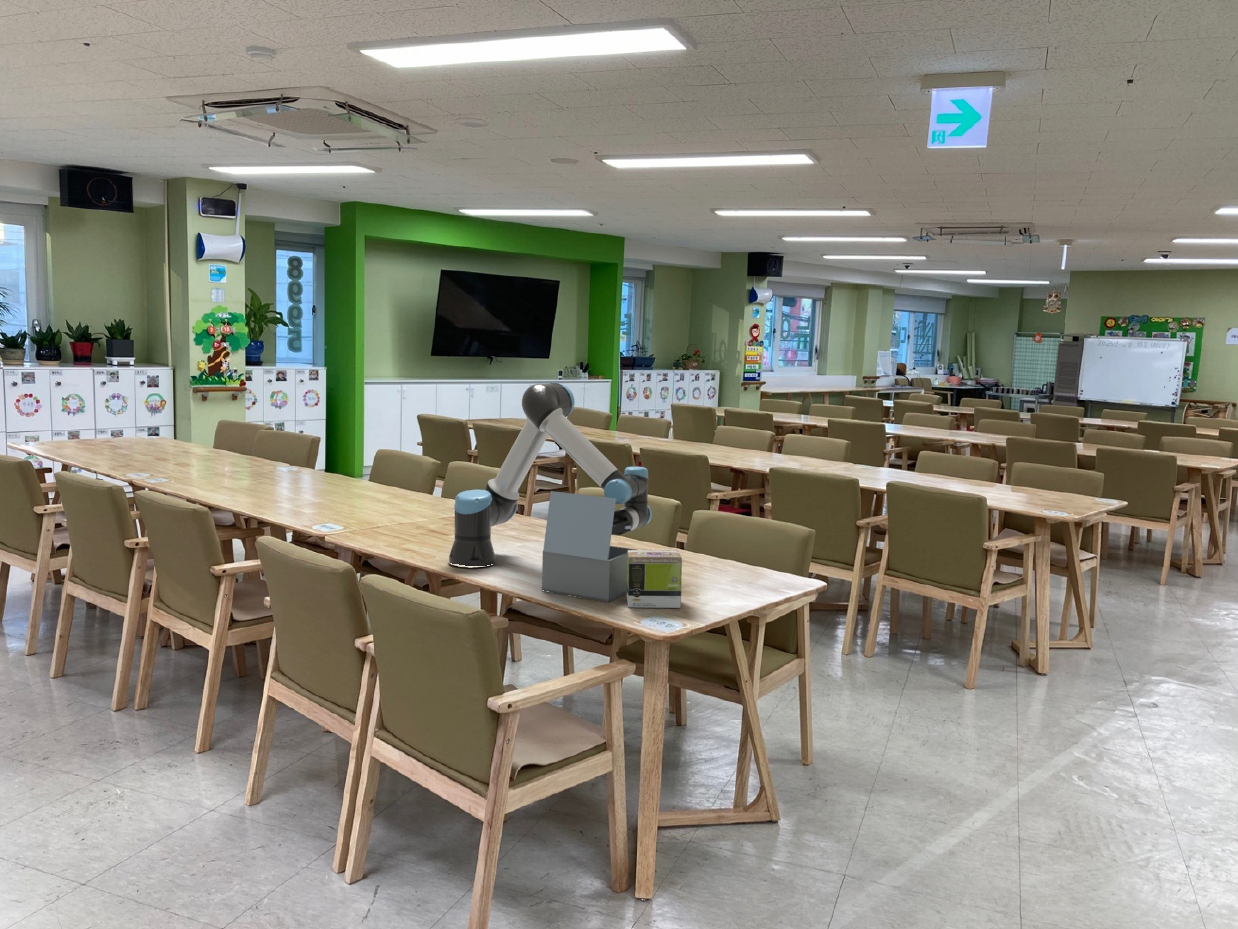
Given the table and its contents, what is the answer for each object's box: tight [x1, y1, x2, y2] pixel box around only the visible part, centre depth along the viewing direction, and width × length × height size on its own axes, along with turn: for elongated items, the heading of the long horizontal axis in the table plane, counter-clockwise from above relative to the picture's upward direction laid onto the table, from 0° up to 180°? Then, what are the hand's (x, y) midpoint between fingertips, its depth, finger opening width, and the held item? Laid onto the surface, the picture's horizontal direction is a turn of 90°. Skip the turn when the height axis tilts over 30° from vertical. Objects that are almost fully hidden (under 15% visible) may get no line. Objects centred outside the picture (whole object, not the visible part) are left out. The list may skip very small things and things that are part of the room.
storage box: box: [541, 545, 638, 603], centre depth 280 cm, size 22×18×12 cm
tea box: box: [625, 549, 683, 609], centre depth 267 cm, size 15×10×15 cm, turn 92°
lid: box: [542, 490, 616, 561], centre depth 271 cm, size 21×18×1 cm
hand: (586, 533), depth 271 cm, fingers closed
